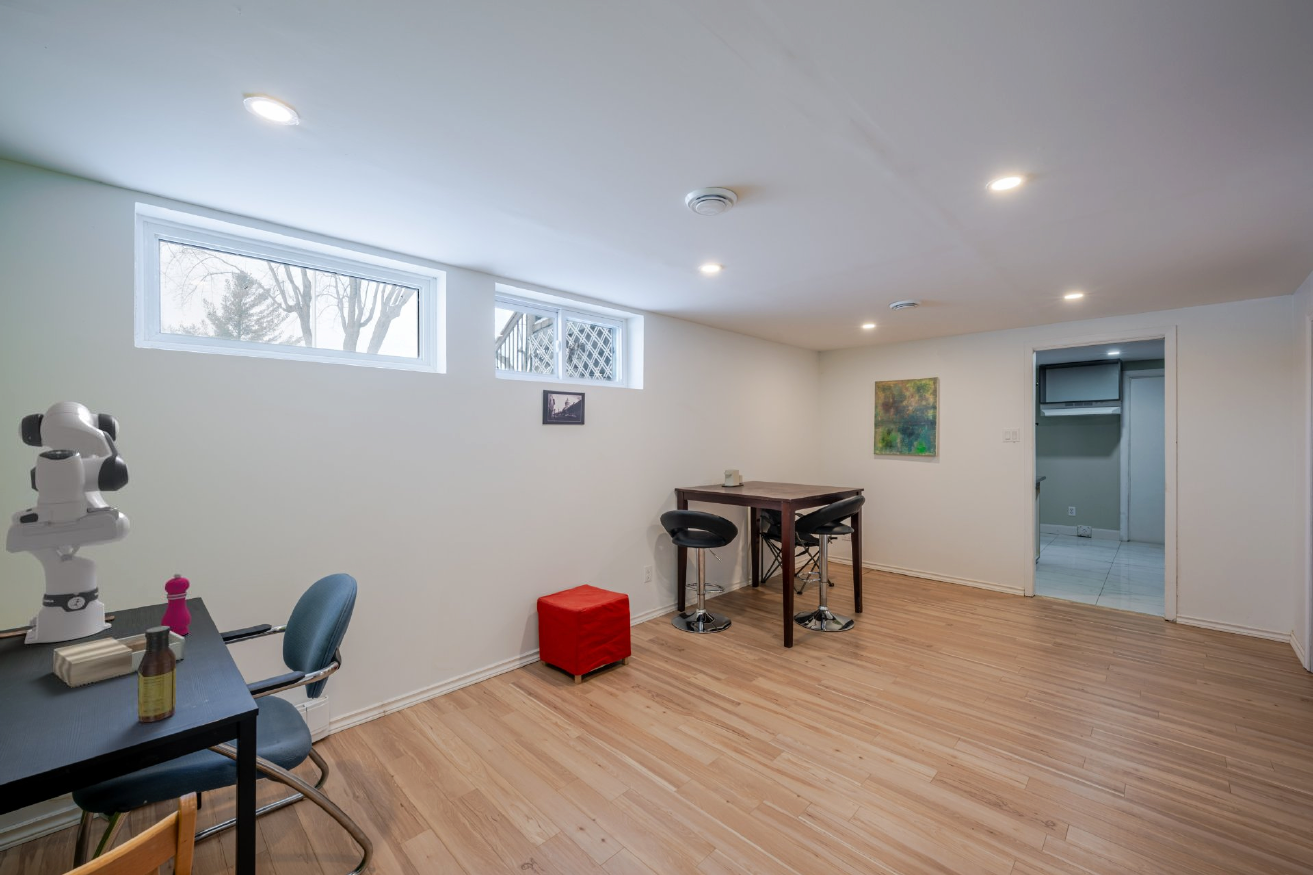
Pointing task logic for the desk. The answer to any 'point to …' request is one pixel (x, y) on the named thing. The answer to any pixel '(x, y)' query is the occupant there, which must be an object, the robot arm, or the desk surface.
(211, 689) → the desk surface
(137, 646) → the walnut block
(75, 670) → the beige box sleeve
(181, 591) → the pepper mill
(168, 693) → the sauce bottle
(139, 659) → the tray
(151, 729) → the desk surface
